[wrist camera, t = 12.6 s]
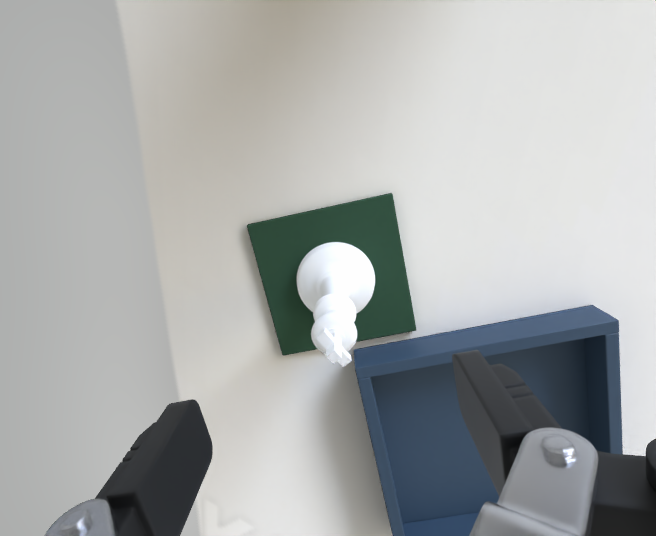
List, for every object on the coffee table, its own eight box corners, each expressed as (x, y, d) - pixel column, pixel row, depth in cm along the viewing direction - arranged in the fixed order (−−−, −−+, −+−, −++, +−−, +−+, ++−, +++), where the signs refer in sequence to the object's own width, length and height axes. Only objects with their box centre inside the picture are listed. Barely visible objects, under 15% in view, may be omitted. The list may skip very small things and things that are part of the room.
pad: (247, 224, 25) (246, 225, 24) (391, 193, 24) (392, 193, 23) (283, 353, 27) (282, 355, 26) (415, 328, 26) (416, 330, 26)
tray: (353, 349, 27) (354, 368, 24) (592, 304, 25) (619, 320, 23) (393, 528, 31) (398, 560, 28) (602, 498, 29) (625, 528, 27)
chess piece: (331, 330, 26) (326, 433, 16) (280, 275, 25) (243, 349, 15) (390, 284, 25) (423, 364, 15) (340, 225, 24) (341, 271, 14)
